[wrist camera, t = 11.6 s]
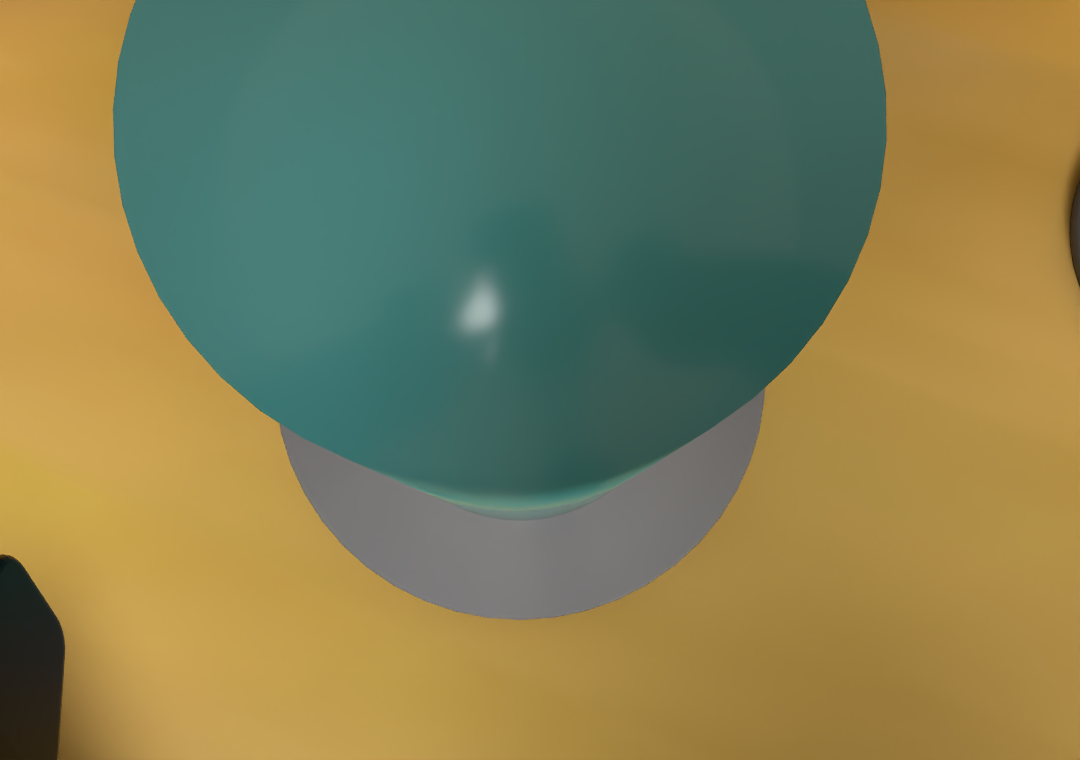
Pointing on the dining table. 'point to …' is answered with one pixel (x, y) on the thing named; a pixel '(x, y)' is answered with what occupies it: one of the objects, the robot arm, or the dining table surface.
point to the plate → (530, 528)
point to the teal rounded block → (500, 219)
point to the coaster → (1076, 232)
